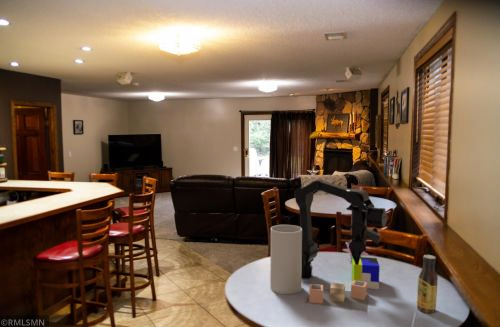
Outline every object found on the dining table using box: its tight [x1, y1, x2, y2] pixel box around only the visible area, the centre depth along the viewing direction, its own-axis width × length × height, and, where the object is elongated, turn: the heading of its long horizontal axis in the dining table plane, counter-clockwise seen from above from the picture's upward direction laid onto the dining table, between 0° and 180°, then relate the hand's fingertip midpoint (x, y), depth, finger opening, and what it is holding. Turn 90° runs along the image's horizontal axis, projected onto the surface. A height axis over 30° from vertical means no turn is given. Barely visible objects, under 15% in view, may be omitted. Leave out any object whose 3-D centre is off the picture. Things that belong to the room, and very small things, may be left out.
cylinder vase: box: [269, 224, 302, 295], centre depth 153 cm, size 12×12×25 cm
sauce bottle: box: [416, 254, 439, 314], centre depth 135 cm, size 6×6×20 cm
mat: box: [304, 287, 370, 313], centre depth 145 cm, size 22×16×1 cm
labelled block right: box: [350, 280, 368, 300], centre depth 146 cm, size 5×5×5 cm
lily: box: [342, 241, 369, 263], centre depth 186 cm, size 12×12×10 cm
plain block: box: [329, 282, 346, 302], centre depth 144 cm, size 5×5×5 cm
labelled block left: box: [308, 283, 324, 304], centre depth 143 cm, size 5×5×5 cm
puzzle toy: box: [351, 256, 381, 290], centre depth 159 cm, size 10×10×10 cm
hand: (357, 260), depth 151 cm, fingers open, 9 cm apart
